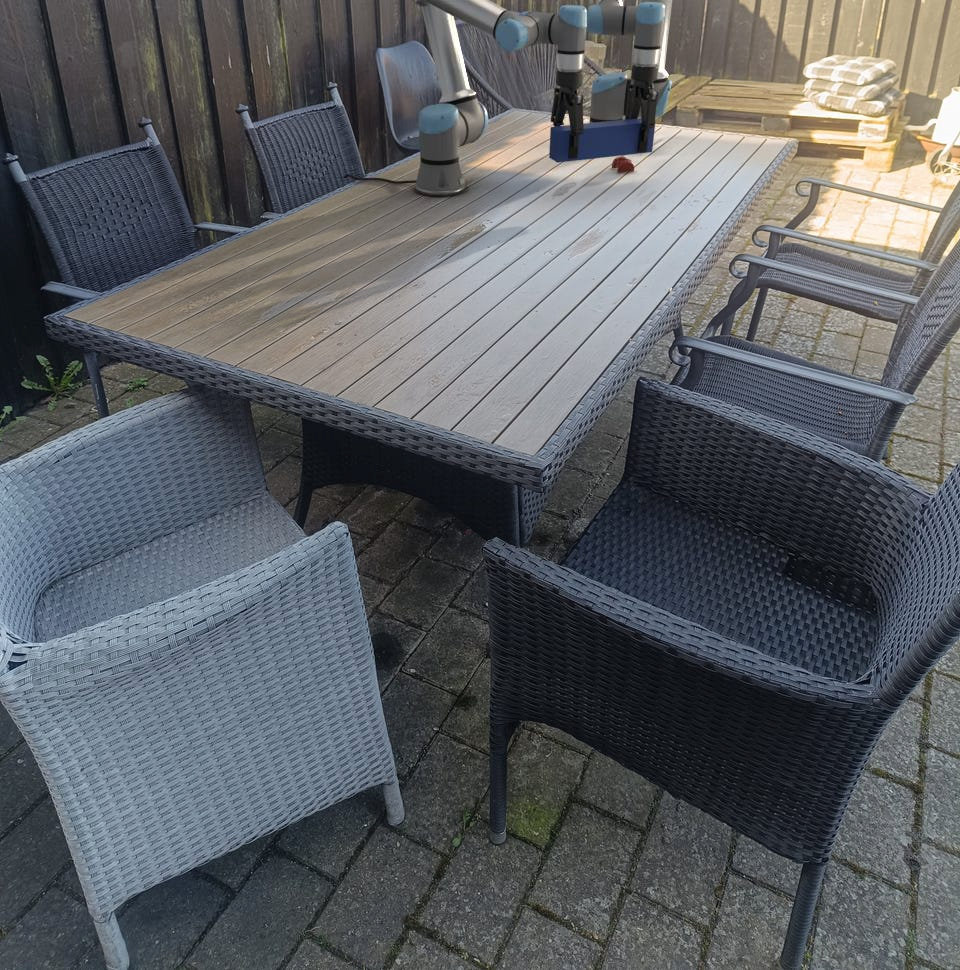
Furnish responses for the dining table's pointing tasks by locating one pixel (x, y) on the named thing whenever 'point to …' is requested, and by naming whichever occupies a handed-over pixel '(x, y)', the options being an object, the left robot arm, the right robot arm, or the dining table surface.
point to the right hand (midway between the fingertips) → (636, 149)
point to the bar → (599, 140)
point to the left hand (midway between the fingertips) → (565, 153)
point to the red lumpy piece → (623, 164)
